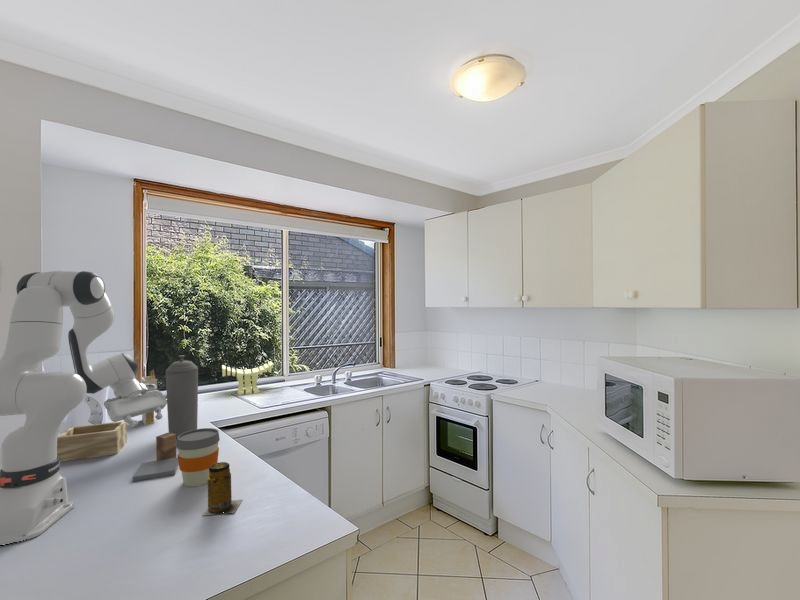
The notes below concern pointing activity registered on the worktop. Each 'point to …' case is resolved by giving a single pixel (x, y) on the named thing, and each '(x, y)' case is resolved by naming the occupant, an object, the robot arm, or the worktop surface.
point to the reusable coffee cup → (197, 454)
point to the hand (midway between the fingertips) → (148, 422)
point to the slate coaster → (156, 469)
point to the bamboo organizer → (91, 441)
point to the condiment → (220, 490)
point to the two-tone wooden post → (149, 417)
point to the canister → (182, 396)
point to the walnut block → (166, 446)
